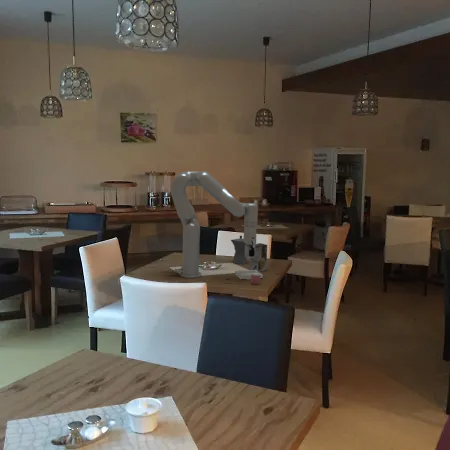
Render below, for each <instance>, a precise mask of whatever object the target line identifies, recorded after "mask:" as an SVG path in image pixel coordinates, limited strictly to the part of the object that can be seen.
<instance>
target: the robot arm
mask: <svg viewBox="0 0 450 450" xmlns="http://www.w3.org/2000/svg"><path fill="white" fill-rule="evenodd" d="M195 186H196V187H201V188H202V189H203V190H204V191H205V192H206V193H208V194H209V195H210V196H211V197H212V198H214V200H215V201H217V202H218V203H219V204H221V205H222V206H223V207H224V208H225V209H226V210H227V211H229V212H230V213H231V215H233V216H234V217H236V218H240V217H241V218H242V217H243V216H244V220H243V221H244V223H243V224H244V229H243V238H242V239H243V241H244V243H245V244H247V245H249V246H250V250H249V256H250V257H252V256H255V245H256V244H257V228H258V219H259V218H258V214H259V212H258V210H259V204H257V203H254V202H247V203H246V202H240V201H238V200H237V199H236V198H235V197H234V196H233V195H232V194H230V192H229V191H228V190H227V189H226V187H224V185H222V183H220V182H219V181H218V180H217V179H215V177H213V176H212V175H211V174H210V173H209V172H208V171H205V170H203V171H202V170H200V171H182V172H180V173H178V174H177V175H176V176H175V178H174V179H173V180H172V182H171V185H170V194H171V197H172V202H173V204H174V208H175V209H176V213H177V216H178V218H179V219H180V222H181V225H182V227H183V228H182V266H181V267H180V268H174V269H173V271H174V273H177V274H178V273H179V276H180V277H182V278H187V279H188V278H189V279H194V278H195V279H196V278H199V277H201V276H202V272H200V270H199V269H200V240H201V239H200V236H201V226H200V222H199V220H198V217H197V214H196V212H195V209H194V207H193V205H192V204H191V203H190V199H189V197H188V194H187V188H188V187H195Z"/></svg>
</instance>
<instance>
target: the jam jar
mask: <svg viewBox="0 0 450 450" xmlns="http://www.w3.org/2000/svg"><path fill="white" fill-rule="evenodd" d="M261 274H262V273H261V272H252V273H251V279H250V284H251V283H254V284H258V283H260V284H261V279H260V275H261Z"/></svg>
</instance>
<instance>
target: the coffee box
mask: <svg viewBox="0 0 450 450" xmlns="http://www.w3.org/2000/svg"><path fill="white" fill-rule="evenodd" d="M249 261H250V266H249V267H250V268H249V270H257V271H258V272H259V273H261V272H265V271H267V266H268V265H267V261H268V244H266V243H258V242H257V243H256V245H255V257H254V258H250V260H249Z"/></svg>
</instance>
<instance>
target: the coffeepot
mask: <svg viewBox="0 0 450 450" xmlns="http://www.w3.org/2000/svg"><path fill="white" fill-rule="evenodd" d="M243 239H244V238H243V236H242V235H239V238H233V239H230V242H231V243H232V245H233V246H234V251H235V252H234V255H233V259H232V262H233V264H235V265H236V264H237V265H246V264H247V263H248V260H247V259H248V258H247V257H245V243H244V241H243Z"/></svg>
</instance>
